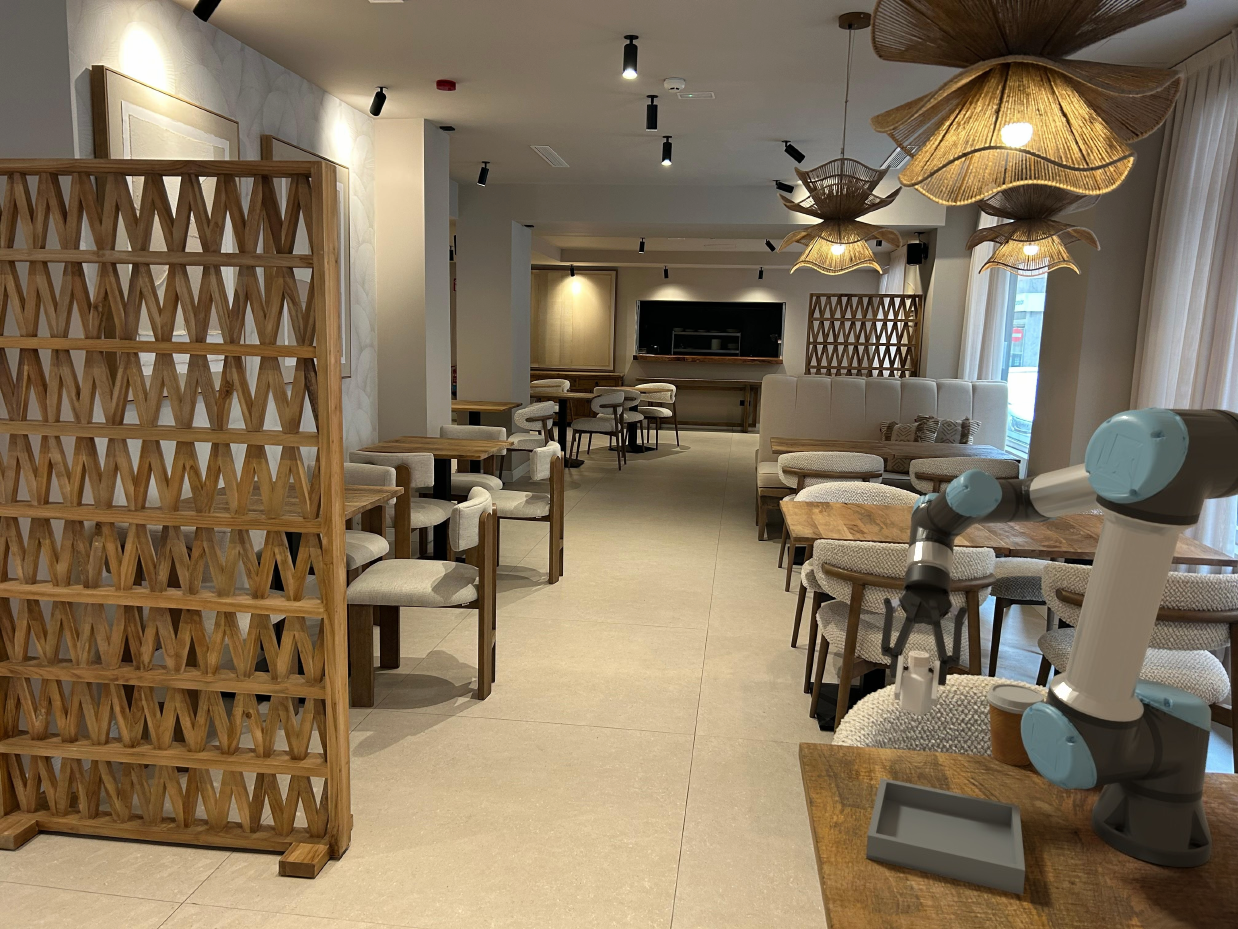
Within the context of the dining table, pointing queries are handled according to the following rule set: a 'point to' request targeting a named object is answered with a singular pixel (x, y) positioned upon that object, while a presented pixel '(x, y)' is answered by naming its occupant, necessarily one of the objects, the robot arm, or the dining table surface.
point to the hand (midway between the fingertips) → (915, 699)
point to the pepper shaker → (917, 684)
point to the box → (948, 835)
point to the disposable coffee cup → (1010, 721)
